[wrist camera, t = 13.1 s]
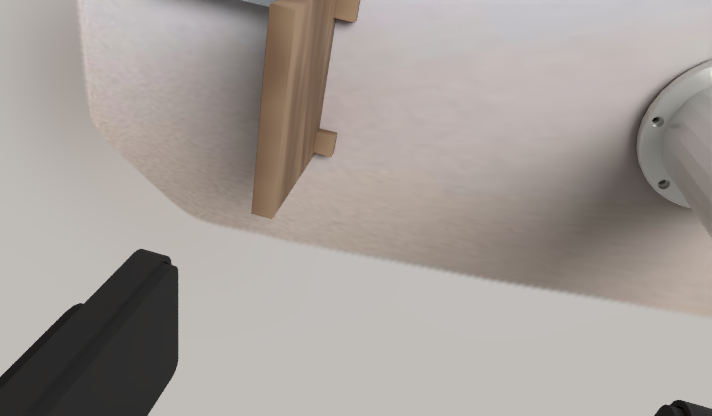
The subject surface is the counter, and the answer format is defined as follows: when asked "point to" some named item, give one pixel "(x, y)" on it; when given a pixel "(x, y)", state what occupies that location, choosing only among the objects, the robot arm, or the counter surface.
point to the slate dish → (261, 2)
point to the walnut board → (294, 95)
